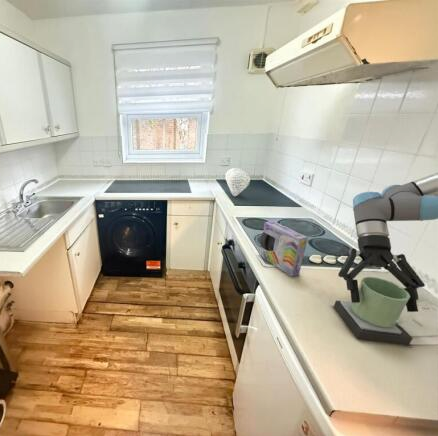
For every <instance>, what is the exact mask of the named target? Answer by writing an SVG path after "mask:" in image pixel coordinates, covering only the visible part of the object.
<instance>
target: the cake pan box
mask: <svg viewBox="0 0 438 436" xmlns="http://www.w3.org/2000/svg"><path fill="white" fill-rule="evenodd" d="M307 241H308V236H306V235H304V234H302V233H299V232H297V231H295V230H294V229H292V228H290V227H288V226H286V225H282V224H280V223H278V222H276V221H274V220H269V221H265V222H264V226H263V232H262V233H261V236H260V250H259V256H260V258H262V259H264V260H266V261H267V262H269V263H270V264H272V265H273V266H274V267H276V268H278V270H281V271H282V272H283V273H285V274H286V275H288V276H290V277H295V276H299V275H300V272H301V269H302V263H303V260H304V255H305V251H306V247H307V243H308V242H307Z"/></svg>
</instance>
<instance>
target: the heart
mask: <svg viewBox="0 0 438 436" xmlns="http://www.w3.org/2000/svg"><path fill="white" fill-rule="evenodd" d="M224 177H225V181H226V183H227V186H228V188H229V191H230V193H231V195H232V196H233V197H237V196H238V195H240V193H242V192H243V191H244V190H245V189H246V188H247V187H249V185H250V182H251V176H250V175H249V173H247V172H246V171H244V170H243V169H242V168H239V167H232V168H230V169H228V170H227V171H226V172H225V175H224ZM235 178H236V180H235Z"/></svg>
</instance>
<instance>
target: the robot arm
mask: <svg viewBox="0 0 438 436" xmlns="http://www.w3.org/2000/svg"><path fill="white" fill-rule="evenodd" d="M352 207H353V208H352V211H353V216H354V217H353V218H354V224H355V230H356V231H355V232H356V238H358V239H357V247H358V250H357V249H356V248H351V249H349V250H347V256H346V259H345V260H344V262H343V264H342V265H341V268H340V270H339V272H338V274H337V276H338V277H339V278H343V280H344V281H345V283H346V289H347V291H350V302H352V303H358V302H360V298H359V289H358V288H359V281H358V279H356V277H357V276H358V275H359V274H360V273H361V272H362V271H363V270H364V269H365V268H366V267H376V268H383V269H384V270H386V271H388V272H389V273H391V275H392V276H393V277H394V278H395V279H396V280H397V281H399V283H401V284H402V285H403V286H404V287H402V288H403V289H405V290H406V291H407V292H408V293H409V295H410V298H409V300H408V302H407V304H406V306H405V308H406V312H407V313H418V312H419V308H418V304H417V301H419V294H418V288H424V287H425V286H426V285H425V283H424V281H423V280H422V279H421V277H420V276H419V275H418V274H417V272H416V271H415V270H414V268H413V267H412V266H411V265H410V263H409V262H408V261H407V257H406V255H405V254H403V253H400V254H393V253H392V243H391V238H390V232H389V228H388V222H411V221H415V222H416V221H417V222H418V221H420V222H423V221H434V220H438V172H435V173H433V174H429V175H427V176H424V177H421V178H418V179H416V180H413V181H410V182H407V183H404V184H392V185H389V186H387V187H385V188H384V189H383V190H382V191H381V193H380V192H378V191H364V192H361V193H358V194H356V195H355V196H354V197H353V198H352ZM358 256H359V258H361V260H360V261H359V262H358V263H357V265H356V266H355V267H354V268H353V269H352V266H353V264H354V262H355V260H356V258H357V257H358ZM350 269H352V270H350Z"/></svg>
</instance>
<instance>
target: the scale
mask: <svg viewBox="0 0 438 436" xmlns="http://www.w3.org/2000/svg"><path fill="white" fill-rule="evenodd" d="M351 304H352V301H345V300H335V302H334V305H333V309H334V310H335V312H336V313H337V314H338V316H339V317H340V318H341V319H342V321H343V322H344V324H345V325H346V326H347V327H348V329H349V331H351V333H352V334H353V335H354V337H355V338H356V339H357V340H362V341H369V342H376V343H377V342H378V343H384V344H393V345H401V346H408V347H409V346H410V344H411V342H412V341H413V339H414V337H412V336H411V335H410V333H408V332H407V331H406V329H404V328H403V327H402V326H401V325H400V323H398V321H397V322H396V324H395V326H393V327H381V326H376V325H373V324H371V323H368V322H366V321H365V320H363V319H361V318H360V317H359V316H358V315H356V314H355V312H354V311H353V310H352V308H351Z"/></svg>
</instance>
